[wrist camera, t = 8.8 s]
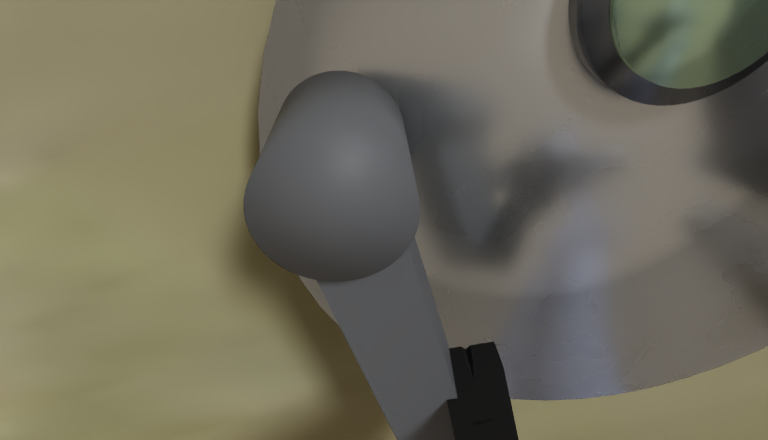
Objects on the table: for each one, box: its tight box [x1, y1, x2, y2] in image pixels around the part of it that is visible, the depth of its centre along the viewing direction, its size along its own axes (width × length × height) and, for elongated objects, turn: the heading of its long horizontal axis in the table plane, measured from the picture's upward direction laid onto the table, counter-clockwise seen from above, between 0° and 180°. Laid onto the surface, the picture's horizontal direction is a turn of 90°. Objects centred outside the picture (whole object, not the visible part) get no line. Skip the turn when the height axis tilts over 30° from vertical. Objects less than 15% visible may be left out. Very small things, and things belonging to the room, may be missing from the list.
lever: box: [244, 70, 457, 440], centre depth 9 cm, size 8×2×3 cm, turn 16°
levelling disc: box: [258, 0, 768, 400], centre depth 10 cm, size 16×16×2 cm
